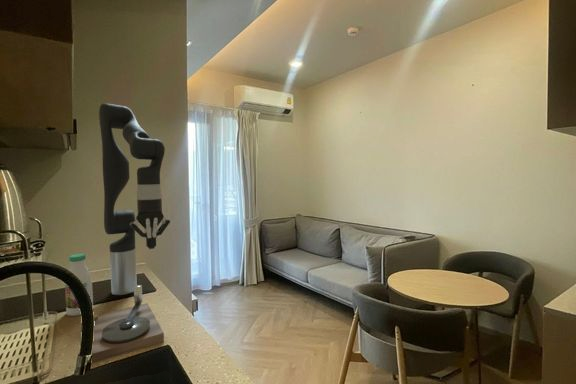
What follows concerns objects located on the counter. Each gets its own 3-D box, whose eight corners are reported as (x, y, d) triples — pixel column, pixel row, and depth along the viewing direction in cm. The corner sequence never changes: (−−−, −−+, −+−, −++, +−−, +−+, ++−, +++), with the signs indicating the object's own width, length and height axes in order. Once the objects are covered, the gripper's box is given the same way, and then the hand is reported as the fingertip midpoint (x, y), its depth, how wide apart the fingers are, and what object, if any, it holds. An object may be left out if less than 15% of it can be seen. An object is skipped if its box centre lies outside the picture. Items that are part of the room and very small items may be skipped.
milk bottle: (77, 306, 108) (74, 252, 107) (98, 306, 108) (95, 252, 107) (60, 316, 100) (57, 258, 99) (83, 316, 100) (80, 258, 99)
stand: (86, 325, 94) (85, 314, 94) (147, 310, 105) (147, 300, 105) (87, 364, 74) (87, 351, 74) (164, 341, 85) (163, 329, 85)
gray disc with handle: (145, 339, 81) (144, 311, 80) (95, 346, 78) (94, 317, 77) (158, 305, 102) (157, 283, 102) (119, 309, 99) (118, 286, 99)
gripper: (166, 196, 108) (168, 243, 109) (125, 198, 100) (127, 249, 101) (172, 197, 102) (174, 247, 103) (129, 199, 94) (132, 253, 95)
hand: (151, 248), depth 102 cm, fingers closed
